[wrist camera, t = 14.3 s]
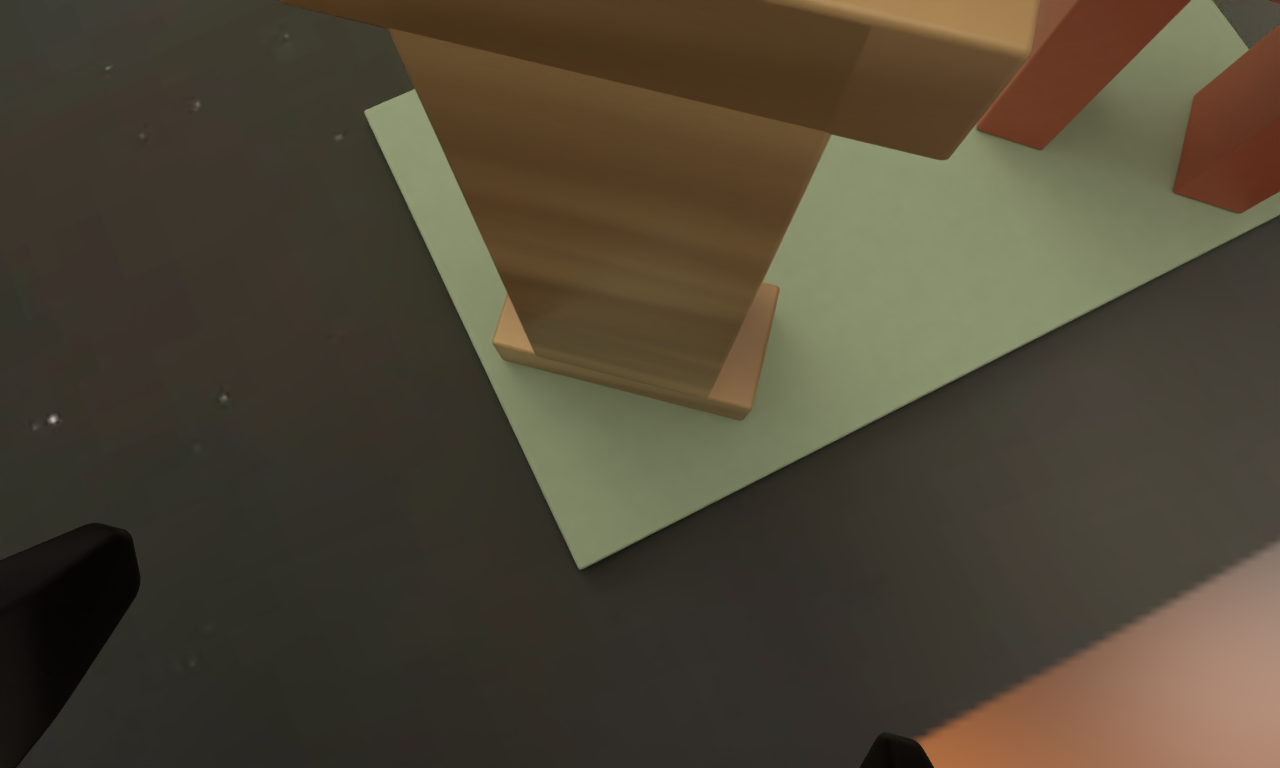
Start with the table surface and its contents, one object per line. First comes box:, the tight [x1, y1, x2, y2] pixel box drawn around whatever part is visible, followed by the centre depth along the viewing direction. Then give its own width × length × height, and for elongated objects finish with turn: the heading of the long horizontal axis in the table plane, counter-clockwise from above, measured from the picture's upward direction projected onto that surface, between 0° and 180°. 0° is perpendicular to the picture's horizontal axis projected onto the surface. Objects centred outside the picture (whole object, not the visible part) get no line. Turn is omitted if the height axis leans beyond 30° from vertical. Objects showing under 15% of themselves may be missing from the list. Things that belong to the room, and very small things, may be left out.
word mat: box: [364, 0, 1280, 570], centre depth 21 cm, size 13×22×1 cm, turn 116°
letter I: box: [279, 0, 1040, 421], centre depth 13 cm, size 3×6×14 cm, turn 76°
